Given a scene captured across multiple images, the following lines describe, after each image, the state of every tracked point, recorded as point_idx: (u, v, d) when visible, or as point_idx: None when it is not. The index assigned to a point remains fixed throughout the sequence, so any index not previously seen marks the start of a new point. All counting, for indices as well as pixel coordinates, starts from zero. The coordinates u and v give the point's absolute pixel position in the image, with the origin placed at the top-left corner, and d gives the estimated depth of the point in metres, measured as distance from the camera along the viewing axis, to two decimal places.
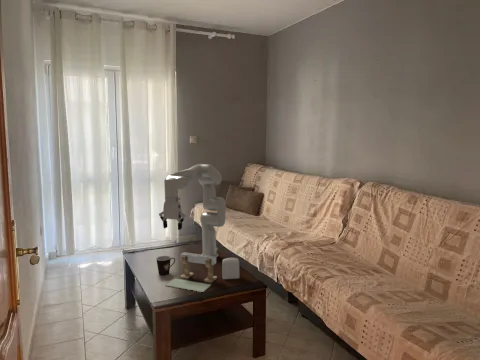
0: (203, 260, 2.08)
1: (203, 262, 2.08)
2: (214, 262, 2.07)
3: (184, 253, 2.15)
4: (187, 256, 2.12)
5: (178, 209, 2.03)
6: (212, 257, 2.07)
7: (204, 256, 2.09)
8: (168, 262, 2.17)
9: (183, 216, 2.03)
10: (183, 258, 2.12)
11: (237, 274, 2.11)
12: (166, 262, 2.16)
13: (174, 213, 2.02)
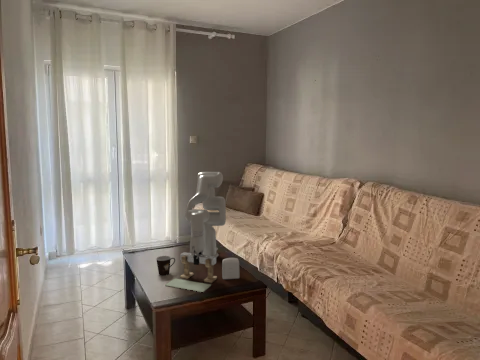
0: (203, 260, 2.08)
1: (203, 262, 2.08)
2: (214, 262, 2.07)
3: (184, 253, 2.15)
4: (187, 256, 2.12)
5: None
6: (212, 257, 2.07)
7: (204, 256, 2.09)
8: (168, 262, 2.17)
9: None
10: (183, 258, 2.12)
11: (237, 274, 2.11)
12: (166, 262, 2.16)
13: (203, 244, 2.13)
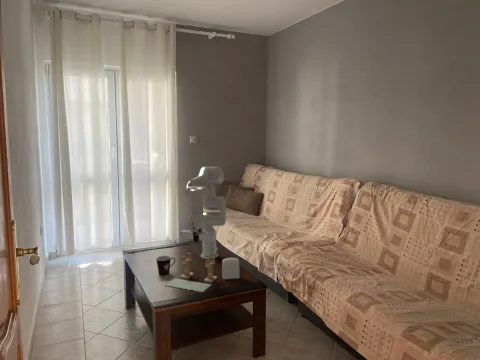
0: (203, 237, 2.07)
1: (203, 239, 2.07)
2: (214, 239, 2.06)
3: (184, 230, 2.14)
4: (187, 233, 2.11)
5: None
6: (212, 234, 2.06)
7: (204, 233, 2.08)
8: (168, 262, 2.17)
9: (203, 225, 2.15)
10: (183, 258, 2.12)
11: (237, 274, 2.11)
12: (166, 262, 2.16)
13: (203, 221, 2.11)
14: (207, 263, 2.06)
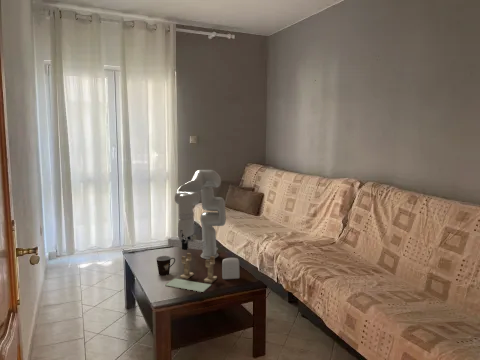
0: (192, 245, 1.95)
1: (192, 247, 1.95)
2: (204, 247, 1.95)
3: (172, 238, 2.02)
4: (175, 241, 1.99)
5: None
6: (202, 241, 1.94)
7: (193, 240, 1.97)
8: (168, 262, 2.17)
9: (192, 233, 2.04)
10: (183, 258, 2.12)
11: (237, 274, 2.11)
12: (166, 262, 2.16)
13: (192, 228, 2.00)
14: (207, 263, 2.06)
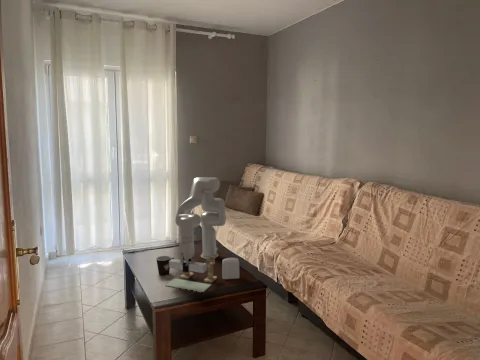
0: (193, 267, 1.97)
1: (193, 269, 1.97)
2: (204, 269, 1.96)
3: (173, 260, 2.04)
4: (176, 263, 2.01)
5: None
6: (202, 264, 1.96)
7: (194, 263, 1.98)
8: (168, 262, 2.17)
9: (193, 255, 2.06)
10: None
11: (237, 274, 2.11)
12: (166, 262, 2.16)
13: (193, 251, 2.02)
14: (207, 263, 2.06)
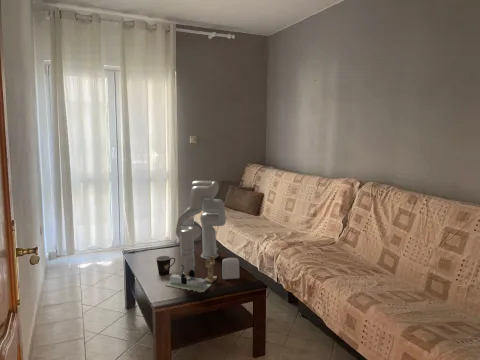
0: (193, 283, 1.98)
1: (193, 285, 1.99)
2: (205, 285, 1.98)
3: (174, 275, 2.05)
4: (177, 279, 2.02)
5: None
6: (203, 280, 1.97)
7: (194, 279, 2.00)
8: (168, 262, 2.17)
9: (195, 263, 2.08)
10: None
11: (237, 274, 2.11)
12: (166, 262, 2.16)
13: (193, 262, 2.03)
14: (207, 263, 2.06)
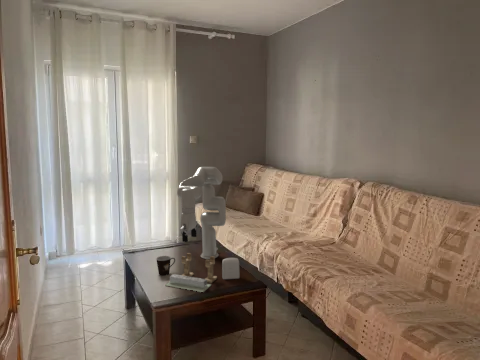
0: (193, 283, 1.98)
1: (193, 285, 1.99)
2: (205, 285, 1.98)
3: (174, 275, 2.05)
4: (177, 279, 2.02)
5: None
6: (203, 280, 1.97)
7: (194, 279, 2.00)
8: (168, 262, 2.17)
9: (196, 222, 2.11)
10: (183, 258, 2.12)
11: (237, 274, 2.11)
12: (166, 262, 2.16)
13: (195, 222, 2.05)
14: (207, 263, 2.06)
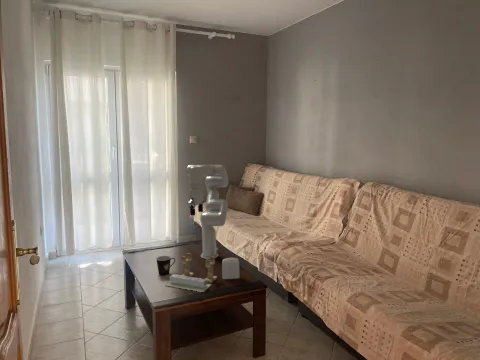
0: (193, 283, 1.98)
1: (193, 285, 1.99)
2: (205, 285, 1.98)
3: (174, 275, 2.05)
4: (177, 279, 2.02)
5: None
6: (203, 280, 1.97)
7: (194, 279, 2.00)
8: (168, 262, 2.17)
9: (203, 199, 2.28)
10: (183, 258, 2.12)
11: (237, 274, 2.11)
12: (166, 262, 2.16)
13: (201, 197, 2.23)
14: (207, 263, 2.06)
